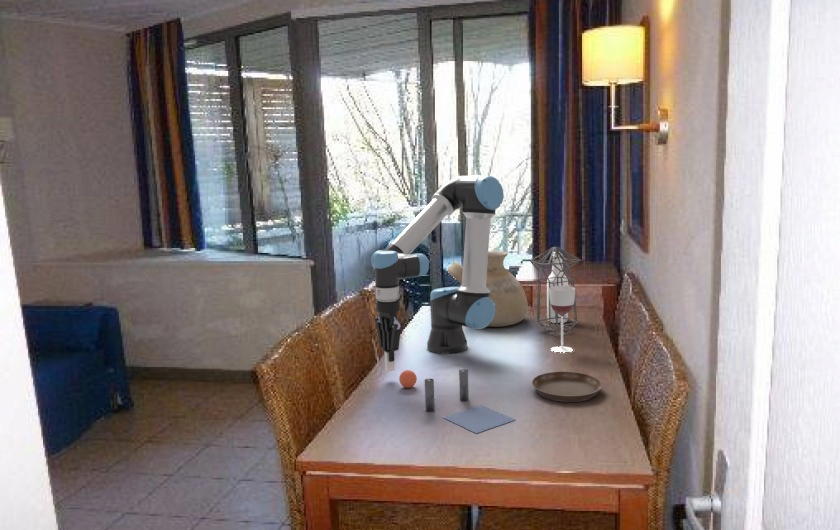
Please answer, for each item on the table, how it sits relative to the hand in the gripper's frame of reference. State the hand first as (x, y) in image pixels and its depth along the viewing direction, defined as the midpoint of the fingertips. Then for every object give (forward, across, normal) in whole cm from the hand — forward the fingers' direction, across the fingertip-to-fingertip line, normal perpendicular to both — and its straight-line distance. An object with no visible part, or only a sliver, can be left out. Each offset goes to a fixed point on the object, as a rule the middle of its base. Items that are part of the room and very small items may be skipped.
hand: (389, 370), depth 218 cm
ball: (0, +10, 0) cm, 10 cm away
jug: (+3, -36, +74) cm, 82 cm away
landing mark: (+3, +44, 0) cm, 44 cm away
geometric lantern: (+2, -4, +82) cm, 82 cm away
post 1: (+3, +30, -6) cm, 31 cm away
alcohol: (+2, -16, +96) cm, 98 cm away
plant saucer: (+3, +45, +34) cm, 57 cm away
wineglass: (+3, +14, +66) cm, 68 cm away
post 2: (+3, +30, +7) cm, 31 cm away
